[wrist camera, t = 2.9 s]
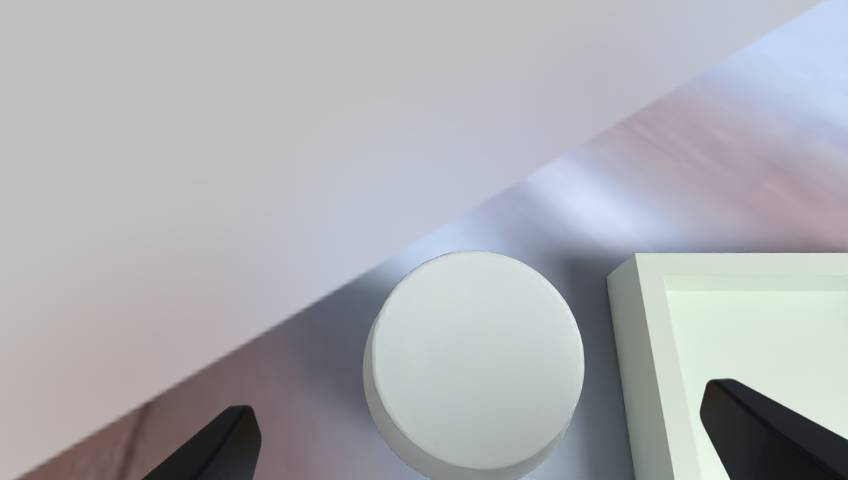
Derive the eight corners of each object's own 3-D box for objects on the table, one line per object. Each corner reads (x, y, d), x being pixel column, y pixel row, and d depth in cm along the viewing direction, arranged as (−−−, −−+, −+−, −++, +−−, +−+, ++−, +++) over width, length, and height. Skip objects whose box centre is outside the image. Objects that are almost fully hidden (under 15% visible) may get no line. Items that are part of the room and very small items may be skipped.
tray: (1098, 685, 12) (1286, 766, 10) (661, 661, 13) (719, 730, 10) (921, 277, 17) (1013, 253, 14) (605, 276, 18) (634, 253, 15)
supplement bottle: (488, 487, 15) (544, 604, 6) (367, 405, 16) (271, 404, 8) (552, 356, 17) (669, 301, 8) (437, 290, 18) (426, 178, 9)
